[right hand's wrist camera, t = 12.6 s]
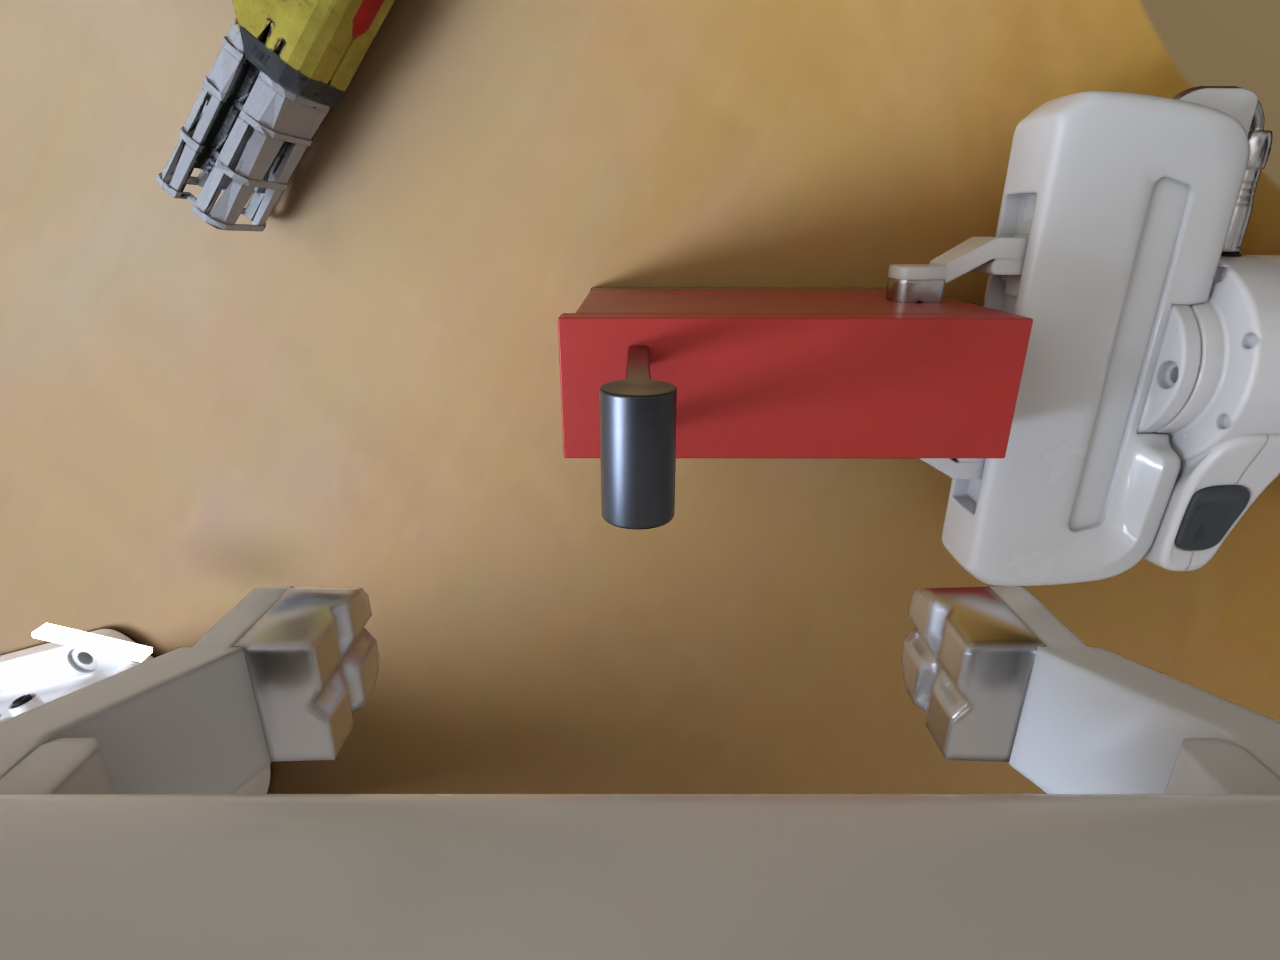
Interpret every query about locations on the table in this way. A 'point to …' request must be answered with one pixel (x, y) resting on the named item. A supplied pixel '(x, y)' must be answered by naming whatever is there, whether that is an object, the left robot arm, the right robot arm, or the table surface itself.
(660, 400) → the lid
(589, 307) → the chest
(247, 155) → the toy gun
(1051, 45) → the table surface
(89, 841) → the right robot arm
